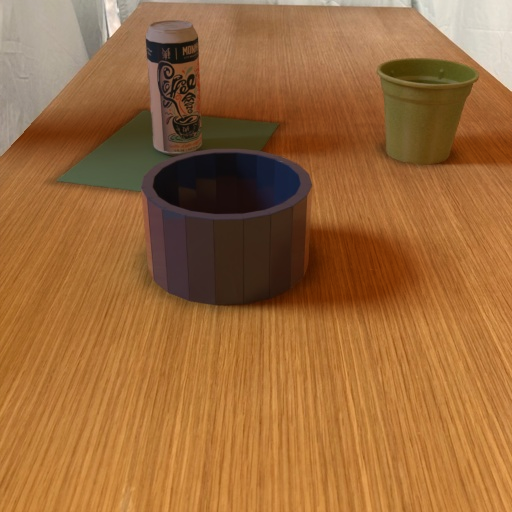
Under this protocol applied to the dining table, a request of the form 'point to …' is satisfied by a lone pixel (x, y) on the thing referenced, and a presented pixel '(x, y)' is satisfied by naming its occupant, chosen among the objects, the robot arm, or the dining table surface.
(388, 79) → the plant pot
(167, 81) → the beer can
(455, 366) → the dining table surface
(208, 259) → the pot
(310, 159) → the dining table surface
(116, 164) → the mat
